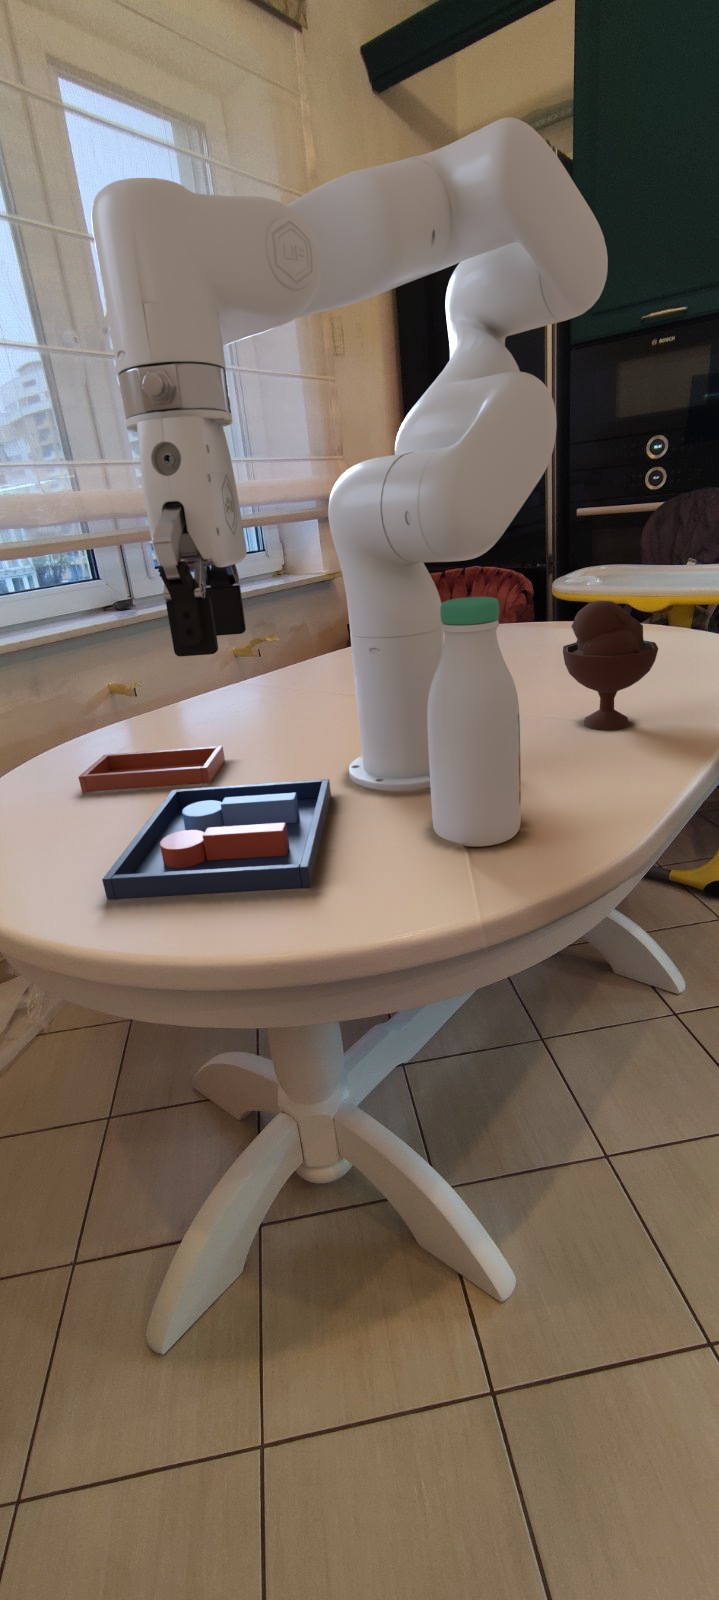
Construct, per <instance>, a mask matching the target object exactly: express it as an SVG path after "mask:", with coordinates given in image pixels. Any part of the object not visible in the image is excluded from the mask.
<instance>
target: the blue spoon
mask: <svg viewBox="0 0 719 1600" xmlns="http://www.w3.org/2000/svg"><path fill="white" fill-rule="evenodd" d="M182 815H183V820H184V825H185V829H186V830H199V831H203V832H205V831H206V829H207V828H208V827H223V826H239V825H254V824H270V823H297V821H298V817H299V809H298V802H297V794H296V793H283V794H269V795H254V796H239V797H225V798H224V800H223V801H222V802H220V801H215V800H207V801H200V802H196V803H193V804H190V805H188V806H186V807H185V808H184V809H183V810H182Z"/></svg>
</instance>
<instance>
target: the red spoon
mask: <svg viewBox="0 0 719 1600" xmlns="http://www.w3.org/2000/svg"><path fill="white" fill-rule="evenodd" d="M160 848H161V852H162V857H163V862H164V864H165V865H166V866H168V867H171V868H186V867H191V866H194V865H197V864H199V863H202V862H203V861H205V860H206V859H207V861H209V860H226V859H242V858H258V857H274V856H287V853H288V849H289V840H288V833H287V826H286V823H270V824H254V825H239V826H224V827H208V828H207V829H206V831H205V832H203V831H199V830H184V831H179V832H175V833H173V834H170V835H168V836H166V837H165V838H163V839H162V840H161V842H160Z"/></svg>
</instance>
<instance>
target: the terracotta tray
mask: <svg viewBox="0 0 719 1600" xmlns="http://www.w3.org/2000/svg"><path fill="white" fill-rule="evenodd" d="M225 758H226V757H225V751H224V747H223V745H218V746H205V747H203V746H202V747H191V748H190V747H189V748H188V747H187V748H176V749H163V750H162V749H161V750H147V751H136V752H122V753H121V752H120V753H109V754H103V755H102V756H101V757H100V758H98V759H97V760H96V761H95V762H93V764H92V765H90V766H89V767H88V768H87V769H86V770H84V771H83V772H82V773H81V774H80V775H79V776H78V781H79V785H80V789H81V790H80V791H81V794H82V795H84V794H85V793H89V792H102V791H115V790H131V789H132V790H133V789H144V788H145V789H146V788H158V787H159V788H160V787H173V786H175V787H176V786H188V785H189V786H190V785H201V784H203V785H204V784H210V783H211V782H212V780H214V778H215V776H216V775H217V773H218V772H219V770H220V769H221V767H222V766H223V764H224V763H225V761H226V759H225Z"/></svg>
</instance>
